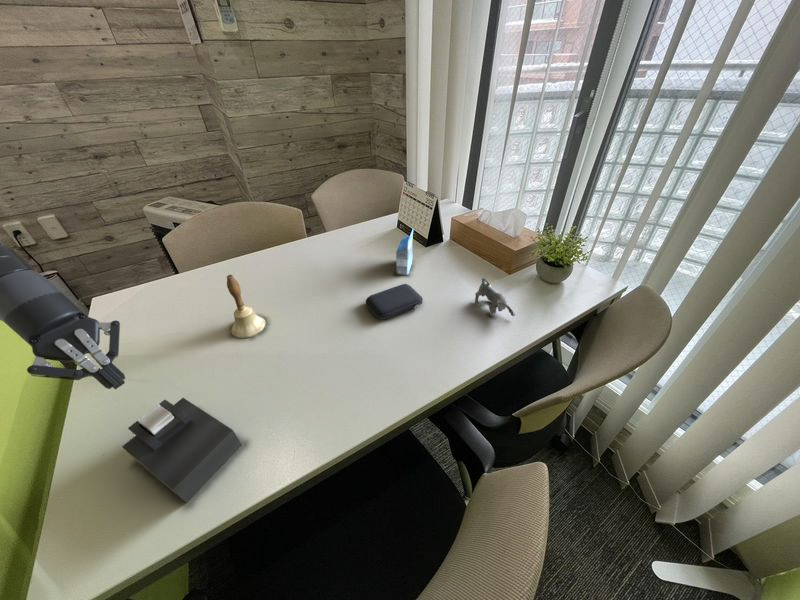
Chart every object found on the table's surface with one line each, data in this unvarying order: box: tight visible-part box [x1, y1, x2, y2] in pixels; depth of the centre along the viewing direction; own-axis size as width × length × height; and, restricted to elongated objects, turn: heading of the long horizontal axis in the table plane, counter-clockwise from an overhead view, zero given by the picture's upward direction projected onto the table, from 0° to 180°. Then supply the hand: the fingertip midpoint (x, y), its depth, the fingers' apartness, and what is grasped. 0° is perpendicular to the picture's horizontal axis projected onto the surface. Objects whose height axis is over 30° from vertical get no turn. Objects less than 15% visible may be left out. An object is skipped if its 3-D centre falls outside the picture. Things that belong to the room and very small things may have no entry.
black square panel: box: [121, 397, 243, 504], centre depth 57 cm, size 15×11×7 cm
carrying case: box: [365, 283, 424, 320], centre depth 90 cm, size 11×3×15 cm
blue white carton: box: [395, 229, 414, 276], centre depth 103 cm, size 9×4×12 cm, turn 168°
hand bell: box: [226, 274, 266, 339], centre depth 80 cm, size 8×8×16 cm
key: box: [137, 404, 175, 435], centre depth 56 cm, size 4×4×2 cm
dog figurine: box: [474, 277, 516, 317], centre depth 88 cm, size 12×6×7 cm, turn 27°
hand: (120, 385), depth 54 cm, fingers closed
